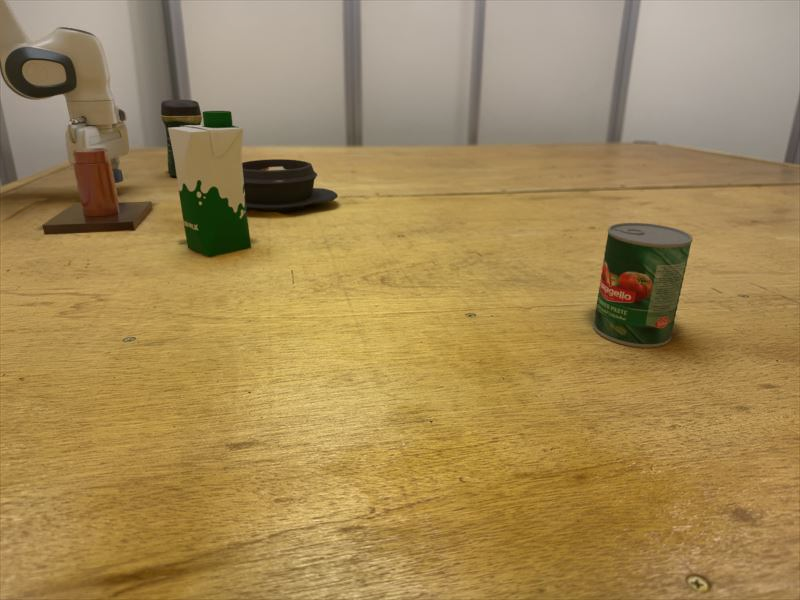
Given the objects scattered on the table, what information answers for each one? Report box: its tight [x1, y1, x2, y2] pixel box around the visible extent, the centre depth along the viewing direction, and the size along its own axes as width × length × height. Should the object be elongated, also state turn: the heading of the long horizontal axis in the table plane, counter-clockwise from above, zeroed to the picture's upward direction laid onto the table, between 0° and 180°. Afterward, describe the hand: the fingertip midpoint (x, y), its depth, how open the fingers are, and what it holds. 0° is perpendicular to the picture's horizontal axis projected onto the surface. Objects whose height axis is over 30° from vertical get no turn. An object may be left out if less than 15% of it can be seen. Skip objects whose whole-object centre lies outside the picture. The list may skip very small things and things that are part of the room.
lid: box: [113, 168, 124, 184], centre depth 119 cm, size 6×6×2 cm
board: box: [41, 200, 153, 235], centre depth 100 cm, size 14×16×2 cm
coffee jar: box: [160, 99, 203, 178], centre depth 140 cm, size 10×8×19 cm
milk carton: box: [168, 110, 252, 258], centre depth 82 cm, size 9×9×20 cm
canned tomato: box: [592, 222, 694, 349], centre depth 57 cm, size 8×8×11 cm
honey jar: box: [72, 148, 120, 216], centre depth 97 cm, size 6×6×11 cm
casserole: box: [242, 158, 339, 213], centre depth 110 cm, size 25×19×8 cm
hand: (106, 182), depth 120 cm, fingers closed on lid, 6 cm apart
